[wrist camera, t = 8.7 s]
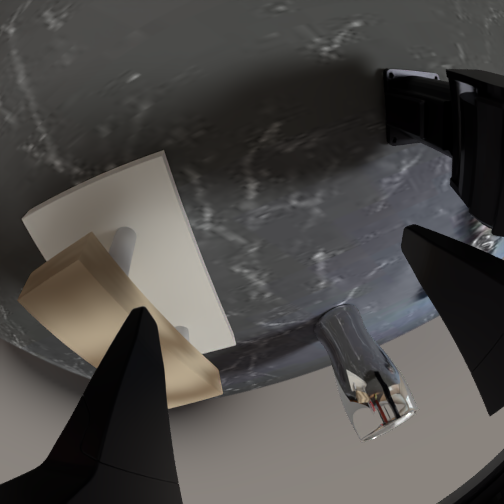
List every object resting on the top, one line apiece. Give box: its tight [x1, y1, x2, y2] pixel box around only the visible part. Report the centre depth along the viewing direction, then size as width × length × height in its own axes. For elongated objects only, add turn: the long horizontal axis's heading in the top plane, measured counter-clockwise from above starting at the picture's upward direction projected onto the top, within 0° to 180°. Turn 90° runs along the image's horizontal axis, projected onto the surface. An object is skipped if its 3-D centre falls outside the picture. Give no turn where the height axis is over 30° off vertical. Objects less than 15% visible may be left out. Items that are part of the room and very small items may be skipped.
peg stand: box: [22, 150, 236, 354], centre depth 20 cm, size 12×20×6 cm, turn 11°
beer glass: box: [314, 305, 419, 442], centre depth 26 cm, size 7×7×15 cm
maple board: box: [17, 232, 223, 409], centre depth 17 cm, size 16×6×2 cm, turn 21°
